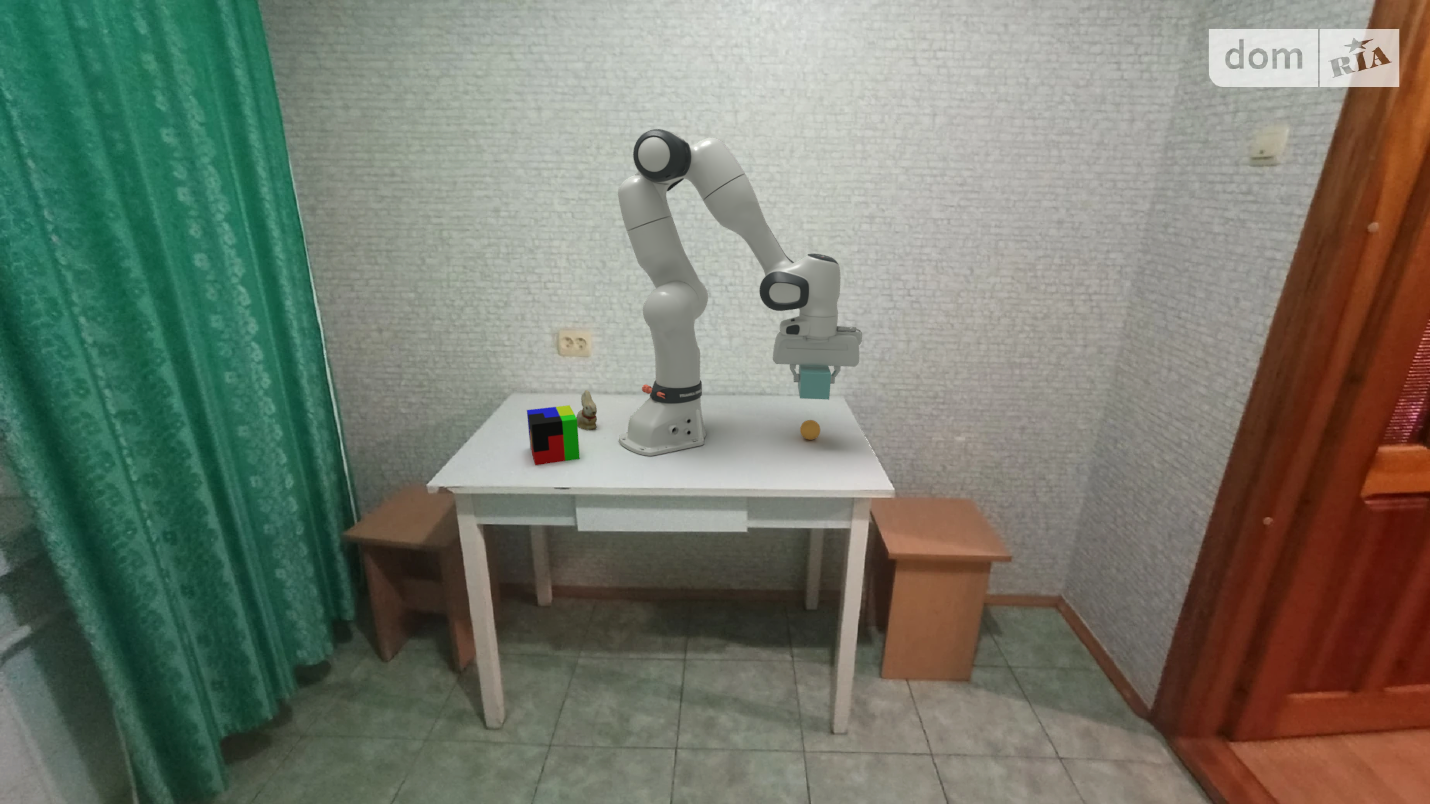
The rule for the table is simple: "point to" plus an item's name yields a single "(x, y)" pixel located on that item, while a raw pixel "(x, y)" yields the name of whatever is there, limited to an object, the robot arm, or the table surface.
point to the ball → (810, 429)
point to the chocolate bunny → (587, 412)
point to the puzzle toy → (553, 434)
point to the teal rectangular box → (814, 382)
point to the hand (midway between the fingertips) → (813, 382)
